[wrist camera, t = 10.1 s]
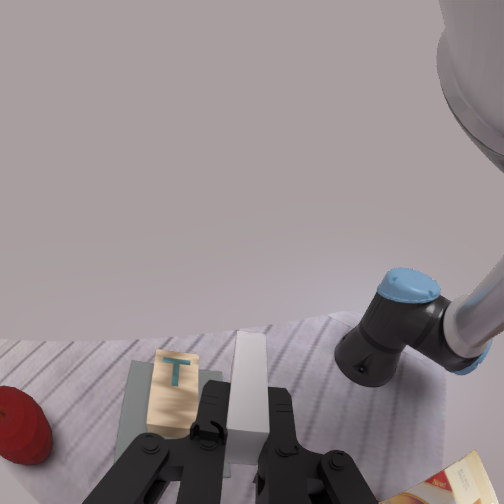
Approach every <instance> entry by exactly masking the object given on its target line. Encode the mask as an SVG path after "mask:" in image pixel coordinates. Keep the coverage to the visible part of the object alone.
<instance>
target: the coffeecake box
mask: <svg viewBox="0 0 504 504" xmlns="http://www.w3.org/2000/svg"><path fill="white" fill-rule="evenodd" d="M379 504H499V502H498V500H497V497H496V495H495V492H494V489H493V487H492V485H491V482H490V480H489V478H488V475H487V473H486V471H485V469H484V466H483V464H482V462H481V460H480V458H479V456H478V454H477V452H476V450H475V449H474V450H473V451H471V452H470V453H469V454H467V455H465V456H464V457H462V458H461V459H459V460H458V461H456V462H455V463H453V464H452V465H450V466H448V467H447V468H445V469H443V470H442V471H440V472H439V473H437V474H435V475H433V476H432V477H430V478H428V479H427V480H425V481H423V482H421V483H419V484H418V485H416V486H414V487H412V488H410V489H408V490H406V491H404V492H402V493H399V494H397V495H395V496H393V497H391V498H388V499H386V500H384V501H382V502H379Z"/></svg>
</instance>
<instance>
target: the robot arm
mask: <svg viewBox="0 0 504 504" xmlns="http://www.w3.org/2000/svg"><path fill="white" fill-rule="evenodd" d="M439 4H440V7H441V11H442V15H443V19H444V24H445V30H444V31H443V33H442V35H441V37H440V40H439V43H438V48H437V70H438V75H439V79H440V82H441V87H442V90H443V93H444V96H445V99H446V101H447V103H448V106H449V108H450V110H451V111H452V113H453V115H454V117H455V119H456V120H457V121H458V123H459V124H460V126H461V127H462V129H463V130H464V132H465V133H466V134H467V135H468V136H469V138H470V139H471V140H472V141H473V142H474V143H475V145H477V147H478V148H479V149H480V150H481V151H482V152H483V153H484V154H485V155H486V157H487V158H488V159H489V160H490V161H491V162H492V163H493V164H494V165H495V166H497V167H498V168H499V169H500V170H501V171H502V172H503V173H504V0H439ZM503 331H504V256H503V257H502V258H501V260H500V261H499V262H498V263H497V264H496V266H495V267H494V268H493V269H492V271H491V272H490V273H489V274H488V275H487V276H486V277H485V279H484V280H483V281H482V282H481V283H480V284H479V285H478V286H477V287H476V289H475V290H474V291H473V292H472V293H471V294H470V295H463V296H460V297H458V298H456V299H454V301H452V302H451V301H450V300H448V299H446V298H445V297H443V296H441V295H440V286H439V284H438V283H437V282H436V281H435V280H432V278H431V277H429V276H428V275H426V274H424V273H421V272H419V271H416V270H413V269H409V268H394V269H391V270H390V271H388V272H387V274H386V275H385V277H384V279H383V280H382V282H381V284H380V285H379V286H378V288H377V292H376V294H375V296H374V298H373V300H372V301H371V303H370V305H369V307H368V309H367V310H366V312H365V314H364V316H363V318H362V319H361V321H360V323H359V324H358V325H357V326H356V327H355V328H353V329H352V330H351V331H350V332H349V333H348V334H346V335H345V336H344V337H343V338H342V339H341V340H340V342H339V343H338V345H337V347H336V349H335V359H336V362H337V364H338V366H339V368H340V369H341V370H342V372H343V373H344V374H345V375H346V376H347V377H349V378H350V379H351V380H353V381H355V382H356V383H358V384H361V385H364V386H368V387H378V386H381V385H384V384H385V383H387V382H388V381H389V379H390V378H391V377H392V376H393V374H394V373H395V370H396V367H397V363H398V361H399V358H400V355H401V352H402V351H403V349H404V348H405V346H406V345H409V346H410V347H412V348H413V349H415V350H417V351H418V352H420V353H422V354H423V355H425V356H426V357H428V358H430V359H431V360H433V361H434V362H436V363H438V364H439V365H441V366H442V367H444V368H445V369H446V370H447V371H449V372H451V373H455V374H457V375H466V374H468V373H470V372H472V371H473V370H474V369H476V368H477V365H478V364H480V363H481V362H482V361H483V360H484V358H485V357H486V355H487V353H488V351H489V349H490V347H491V343H492V338H493V337H495V336H496V335H498V334H500V333H501V332H503ZM224 462H227V463H236V464H246V465H257V463H258V471H257V473H256V475H255V478H254V481H253V483H256V501H255V504H379V503H378V502H377V500H376V498H375V497H374V495H373V493H372V491H371V490H370V488H369V486H368V485H367V483H366V481H365V480H364V478H363V476H362V474H361V473H360V471H359V469H358V468H357V466H356V464H355V463H354V461H353V459H352V458H351V457H350V455H349V454H347V453H345V452H344V451H339V450H333V451H329V452H327V453H326V454H325V455H323V454H319V453H315V452H311V451H308V450H306V449H305V448H303V447H302V446H301V445H300V444H299V443H298V441H297V438H296V431H295V423H294V415H293V408H292V400H291V395H290V394H289V392H288V391H287V390H286V388H277V387H268V383H267V360H266V338H265V334H258V333H250V332H243V331H237V337H236V343H235V350H234V356H233V362H232V368H231V377H230V383H228V382H222V381H215V380H209V381H208V382H207V383H206V384H205V385H204V386H203V389H202V394H201V398H200V403H199V407H198V412H197V416H196V421H195V422H193V423H192V425H191V427H190V434H189V435H187V436H186V437H183V438H179V439H164V438H163V437H162V436H160V435H159V434H156V433H152V432H145V433H142V434H139V435H138V436H137V437H135V438H134V440H133V441H132V442H131V443H130V445H129V446H128V447H127V449H126V450H125V451H124V452H123V454H122V455H121V456H120V457H119V459H118V460H117V461H116V462H115V464H114V465H113V466H112V467H111V469H110V470H109V471H108V472H107V473H106V475H105V476H104V477H103V478H102V480H101V481H100V482H99V483H98V485H97V486H96V487H95V488H94V489H93V491H92V492H91V493H90V494H89V496H88V497H87V498H86V499H85V500H84V502H83V503H82V504H157V503H158V501H159V500H160V498H161V496H162V495H163V493H164V491H165V490H166V488H167V487H168V485H169V483H170V482H171V481H181V483H180V488H179V493H178V497H177V502H176V504H220V500H221V490H222V479H223V469H224Z"/></svg>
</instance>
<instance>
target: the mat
mask: <svg viewBox="0 0 504 504" xmlns="http://www.w3.org/2000/svg"><path fill="white" fill-rule="evenodd" d="M153 369H154V364H152V363H146V362H141V361H135V360H132V362H131V366H130V370H129V375H128V380H127V385H126V389H125V394H124V400H123V405H122V410H121V416H120V422H119V428H118V435H117V442H116V449H115V457H114V464H115V462H116V461H117V460H118V459H119V457H120V456H121V455H122V454H123V452H124V451H125V450H126V449H127V447H128V446H129V445H130V443H131V442H132V441H133V440H134V438H135V437H137V436H138V435H139V434H142V433H145V432H148V430H147V424H146V422H147V413H148V405H149V397H150V389H151V382H152V375H153ZM209 380H215V381H222V372H219V371H207V370H198V407H199V403H200V398H201V394H202V389H203V386H204V385H205V384H206V383H207V382H208V381H209ZM222 382H223V381H222ZM162 437H163V438H164V439H179V438H172V437H164V436H162ZM223 477H231V475H230V465H229V463H227V462H224V469H223Z"/></svg>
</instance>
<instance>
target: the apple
mask: <svg viewBox="0 0 504 504" xmlns="http://www.w3.org/2000/svg"><path fill="white" fill-rule="evenodd" d="M51 446H52V431H51V428H50V426H49V423H48V421H47V419H46V417H45V415H44V413H43V411H42V409H41V407H40V406H39V405H38V404H37V403H36V401H35V400H34V399H33V398H32V397H31V396H29V395H28V394H26V393H24V392H23V391H21V390H19V389H17V388H15V387H9V386H0V455H1V456H2V457H3V458H5V459H7V460H9V461H11V462H13V463H17V464H23V465H33V464H37V463H40V462H43V461H44V460H45V459H46V458H47V457H48V456H49V453H50V450H51Z"/></svg>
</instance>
